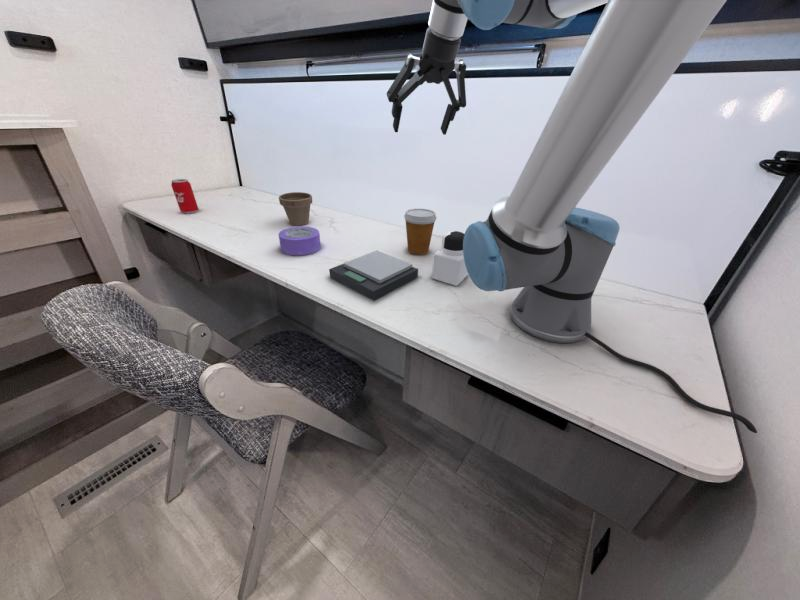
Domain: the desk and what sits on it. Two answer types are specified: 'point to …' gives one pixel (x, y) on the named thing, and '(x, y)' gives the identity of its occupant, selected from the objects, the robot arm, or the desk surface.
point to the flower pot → (296, 207)
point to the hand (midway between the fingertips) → (419, 130)
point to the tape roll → (299, 240)
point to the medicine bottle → (450, 259)
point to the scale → (374, 274)
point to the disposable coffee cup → (419, 230)
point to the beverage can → (184, 195)
